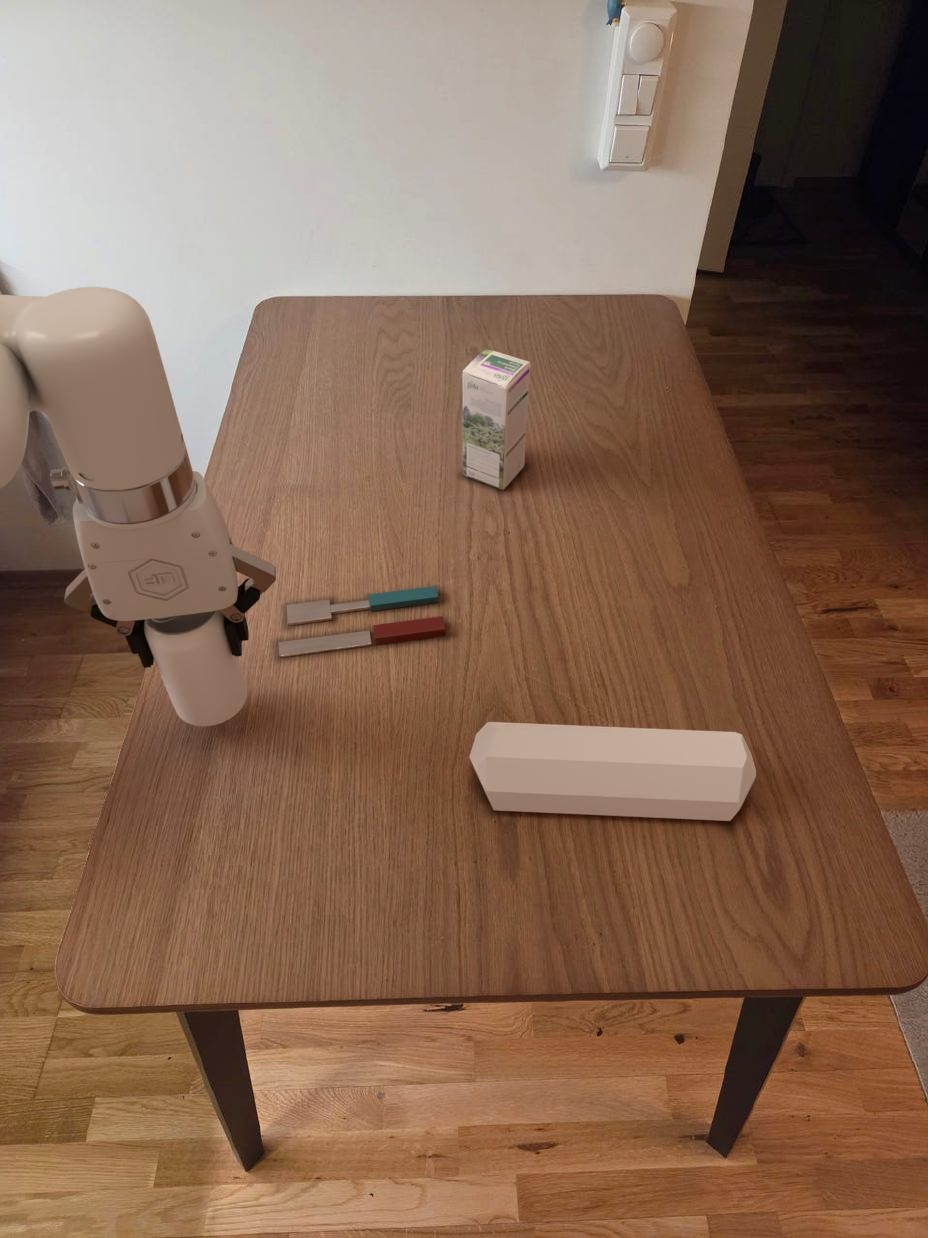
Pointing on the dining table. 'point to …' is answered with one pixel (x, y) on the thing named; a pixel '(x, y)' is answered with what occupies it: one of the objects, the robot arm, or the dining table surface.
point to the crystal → (613, 770)
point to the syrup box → (495, 417)
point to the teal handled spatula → (359, 605)
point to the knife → (366, 637)
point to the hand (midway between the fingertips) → (193, 647)
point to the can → (197, 666)
